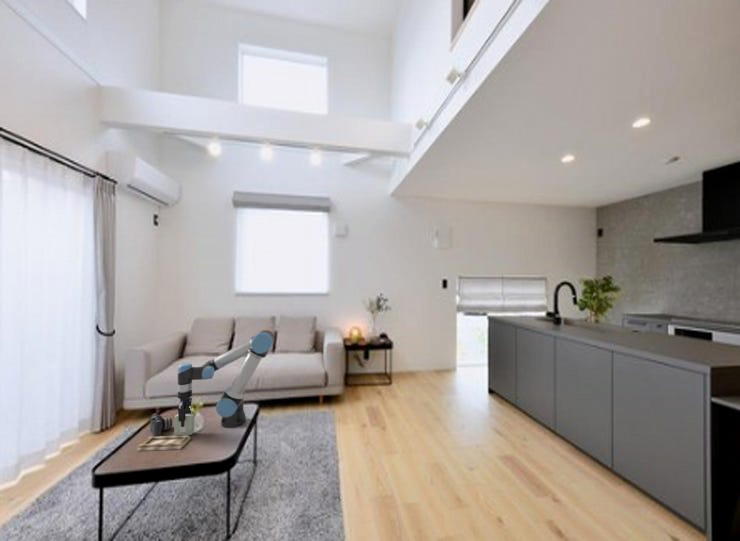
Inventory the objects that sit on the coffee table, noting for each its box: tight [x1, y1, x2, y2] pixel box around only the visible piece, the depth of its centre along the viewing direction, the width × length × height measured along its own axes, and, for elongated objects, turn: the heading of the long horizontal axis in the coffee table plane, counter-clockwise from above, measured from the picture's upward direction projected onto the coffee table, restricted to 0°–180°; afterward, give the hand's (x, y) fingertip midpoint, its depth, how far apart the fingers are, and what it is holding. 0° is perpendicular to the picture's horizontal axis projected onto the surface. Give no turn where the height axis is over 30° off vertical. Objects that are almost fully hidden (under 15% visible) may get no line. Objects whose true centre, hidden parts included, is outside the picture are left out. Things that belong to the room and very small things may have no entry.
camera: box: [149, 413, 173, 437], centre depth 200 cm, size 14×11×10 cm
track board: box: [136, 435, 191, 452], centre depth 184 cm, size 22×12×2 cm, turn 95°
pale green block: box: [173, 413, 196, 436], centre depth 196 cm, size 10×4×11 cm, turn 95°
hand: (185, 430), depth 196 cm, fingers closed on pale green block, 3 cm apart
